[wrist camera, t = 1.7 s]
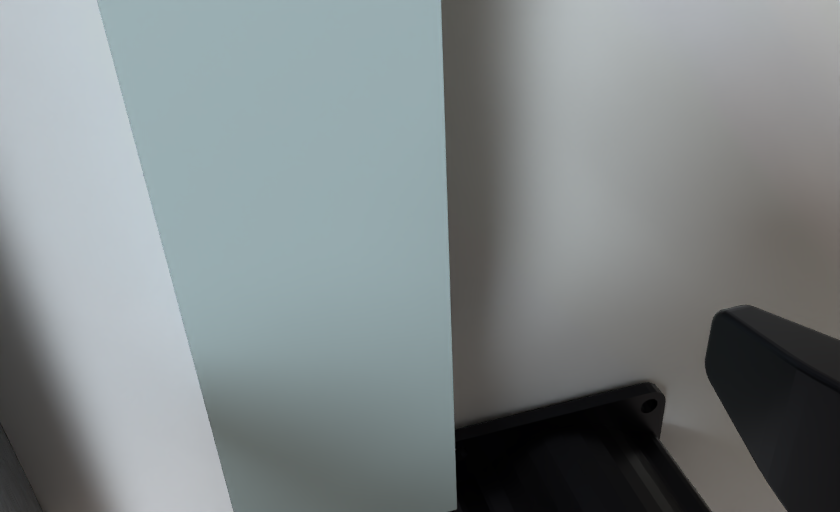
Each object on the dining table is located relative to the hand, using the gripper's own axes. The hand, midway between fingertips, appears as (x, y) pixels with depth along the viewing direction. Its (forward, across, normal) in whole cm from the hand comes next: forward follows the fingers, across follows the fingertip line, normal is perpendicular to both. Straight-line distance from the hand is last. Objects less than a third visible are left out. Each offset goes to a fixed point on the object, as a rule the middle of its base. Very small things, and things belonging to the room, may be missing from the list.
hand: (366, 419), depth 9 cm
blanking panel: (+8, 0, 0) cm, 8 cm away
